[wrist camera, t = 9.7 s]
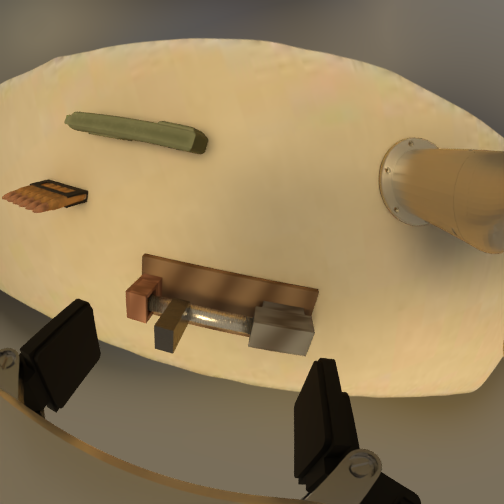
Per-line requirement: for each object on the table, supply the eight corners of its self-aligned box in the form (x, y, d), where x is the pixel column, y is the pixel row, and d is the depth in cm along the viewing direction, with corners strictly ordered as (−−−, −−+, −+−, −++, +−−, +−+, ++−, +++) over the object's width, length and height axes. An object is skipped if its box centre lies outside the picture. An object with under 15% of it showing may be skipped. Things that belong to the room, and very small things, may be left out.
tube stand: (317, 289, 39) (325, 315, 32) (300, 342, 42) (303, 371, 36) (145, 253, 39) (122, 271, 33) (144, 308, 43) (126, 331, 36)
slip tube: (276, 314, 37) (276, 353, 29) (270, 334, 38) (269, 374, 30) (142, 284, 37) (115, 313, 29) (143, 305, 38) (118, 336, 30)
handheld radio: (203, 158, 34) (70, 130, 34) (210, 135, 34) (75, 111, 33) (189, 155, 28) (43, 127, 27) (197, 127, 27) (49, 106, 26)
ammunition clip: (88, 191, 37) (36, 205, 26) (87, 202, 38) (36, 219, 26) (48, 179, 37) (-1, 190, 25) (47, 189, 37) (-1, 202, 26)
